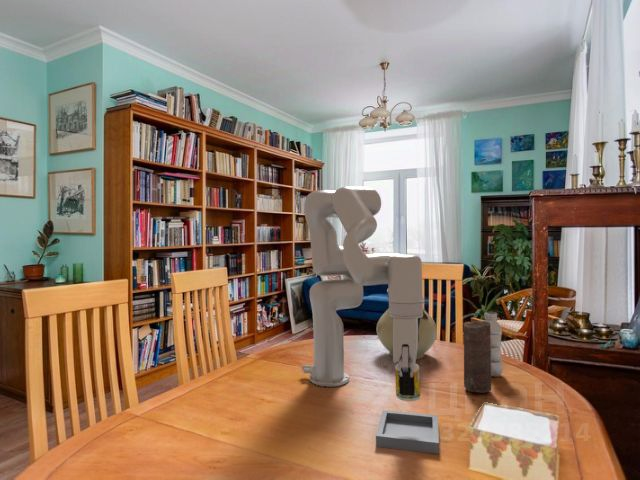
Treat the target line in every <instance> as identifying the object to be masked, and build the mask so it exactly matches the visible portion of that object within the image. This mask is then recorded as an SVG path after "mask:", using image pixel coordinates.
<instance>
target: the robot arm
mask: <svg viewBox="0 0 640 480" xmlns="http://www.w3.org/2000/svg"><path fill="white" fill-rule="evenodd" d="M381 207H382V198H381V196H380V194H379V192H378V191H377V190H376V189H374V188H373V187H369V186H343V187H339V188H338V189H336V190H332V189H331V190H330V189H320V190H314V191H311V192H310V193H308V195H306V197H305V200H304V209H303V210H304V211H303V212H304V217H305V220H306V221H305V222H306V224H307V226H308V231H309V235H310V236H309V237H310V252H311V263H312V264H311V265H312V269H313V272H314V274H316V275H317V276H320V277H321V276H322V277H331V276H332V277H333V276H342V277H343V279H331V280H330V279H327V280H320V281H317V282H315V283H314V284H312V285H311V287H310V289H309V301H310V306H311V311H312V325H313V326H312V331H313V361H314V364H311V365H309V364H302V365H301V366H302V367H301V371H302V372H303V373H305V374H310V375H309V382H310V381H311V382H312V383H311V382H310V383H311V384H313V383H314V384H313V385H315V384H316V385H315V386H318V385H319V387H324V386H326V388H327V387H329V388H333V387H334V388H335V387H339V386H340V387H341V386H343V385H345V384H348V383H349V381H350V374H349V373H347V372H345V350H344V348H345V347H344V346H345V344H344V337H345V335H344V323H343V321H342V318H341V317H340V316H339V314H338V313H337V311H340V310H346V309H355V308H357V307H359V306H360V305H361V304H362V302H363V300H364V286H365V287H367V286H378V285H387V286H388V288H387V289H388V290H389V299H388V309H389V316H390V317H393V318H394V321H393V357H392V361H393V363H394V364H397V363H399V359H400V376H399V390H400V394H401V395H410V396H414V395H415V387H414V377H413V364H414V363H416V361H417V360H416V356H417V347H418V318H421V317H423V309H424V303H423V300H424V297H423V268H422V267H423V263H422V258H420V256H419V255H416V254H401V253H398V252H397V253H396V252H387V253H386V252H385V253H383V252H382V253H364V251H363V250H362V248H361V247H360V245H359V244H361V243H362V242H365V241H366V240H368V239H370V238H371V237H372V236H373V235H374V234H375V232H376V230H377V227H378V222H377V219H376V218H375V216H376V215H377V214H378V213H379V212H380V210H381ZM328 218H335V219H336V218H338V219H339V221H340V223H341V225H342V226H343V229H344V230H345V232H346V235H345V237H344V240H343V243H342V245H338V235H337V231H336V229H335V227H334V226H333V224H332V223H331V222H330V220H329V219H328ZM408 360H411V362H408ZM408 365H410V367H409V366H408Z"/></svg>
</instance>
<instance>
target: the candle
mask: <svg viewBox="0 0 640 480" xmlns="http://www.w3.org/2000/svg"><path fill="white" fill-rule="evenodd" d="M463 387H464V389H466V390H467V391H468V392H470V393H475V394H476V393H480V394H484V393H489V392H491V391H492V376H491V346H490V323H489V322H486V321H485V320H477V321H476V320H473V321H465V322H464V323H463Z"/></svg>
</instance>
